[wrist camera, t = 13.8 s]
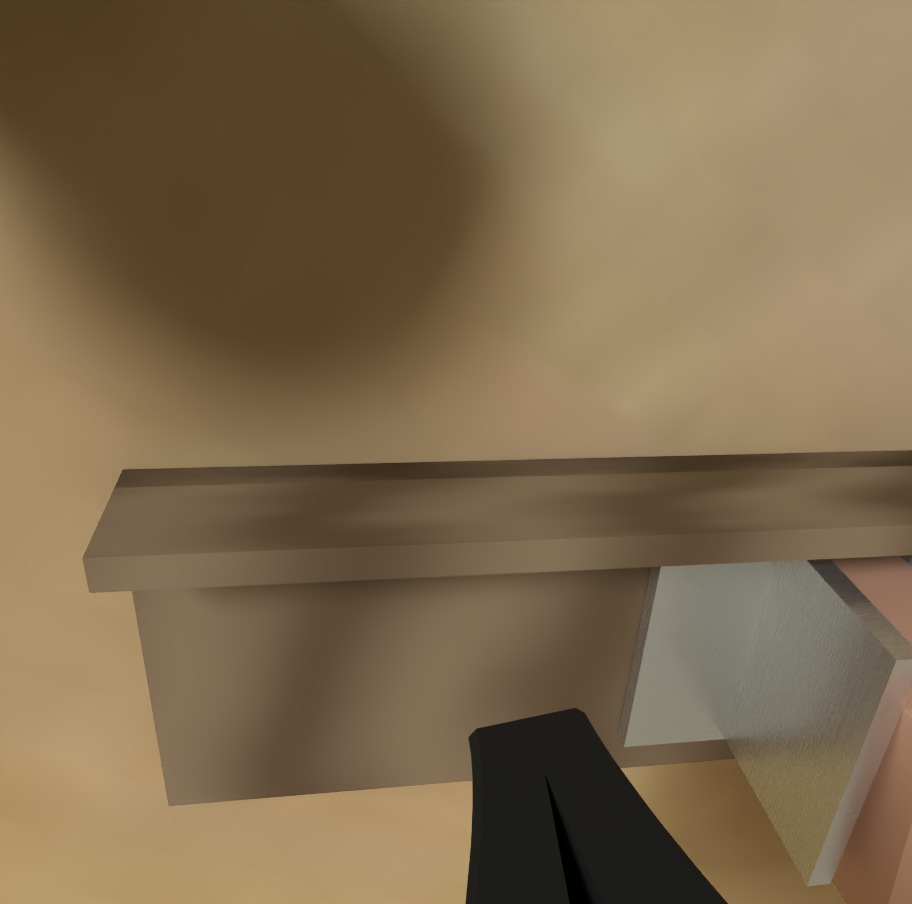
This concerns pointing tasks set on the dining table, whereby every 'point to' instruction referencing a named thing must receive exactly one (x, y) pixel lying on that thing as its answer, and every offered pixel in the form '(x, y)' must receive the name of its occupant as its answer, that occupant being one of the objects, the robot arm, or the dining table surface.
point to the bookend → (774, 689)
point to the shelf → (437, 598)
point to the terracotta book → (883, 762)
